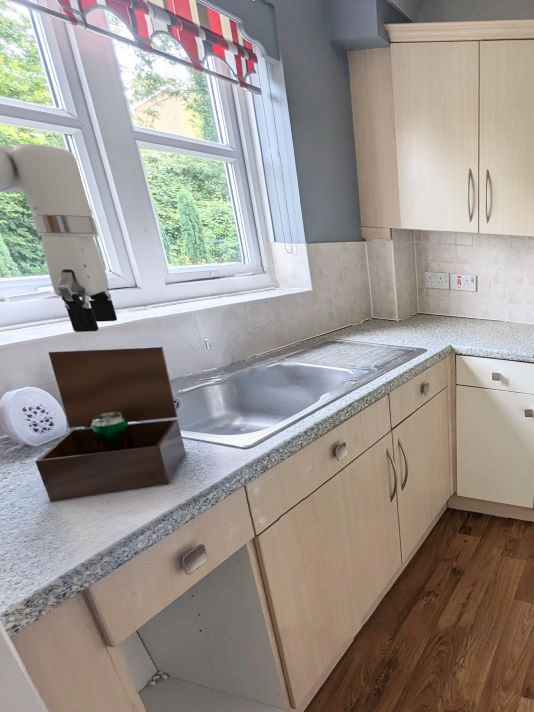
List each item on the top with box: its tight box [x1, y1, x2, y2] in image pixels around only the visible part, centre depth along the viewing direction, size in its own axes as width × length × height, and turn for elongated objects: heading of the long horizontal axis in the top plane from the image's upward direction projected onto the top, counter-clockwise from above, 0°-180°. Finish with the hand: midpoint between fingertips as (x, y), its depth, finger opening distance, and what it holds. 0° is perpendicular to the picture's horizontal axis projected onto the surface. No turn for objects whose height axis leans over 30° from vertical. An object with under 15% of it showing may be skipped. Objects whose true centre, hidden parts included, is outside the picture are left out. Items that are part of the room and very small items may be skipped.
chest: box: [34, 418, 186, 502], centre depth 89 cm, size 14×17×8 cm
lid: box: [48, 346, 178, 429], centre depth 91 cm, size 15×17×1 cm
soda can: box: [91, 412, 135, 452], centre depth 88 cm, size 5×5×12 cm
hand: (97, 325), depth 84 cm, fingers open, 9 cm apart
